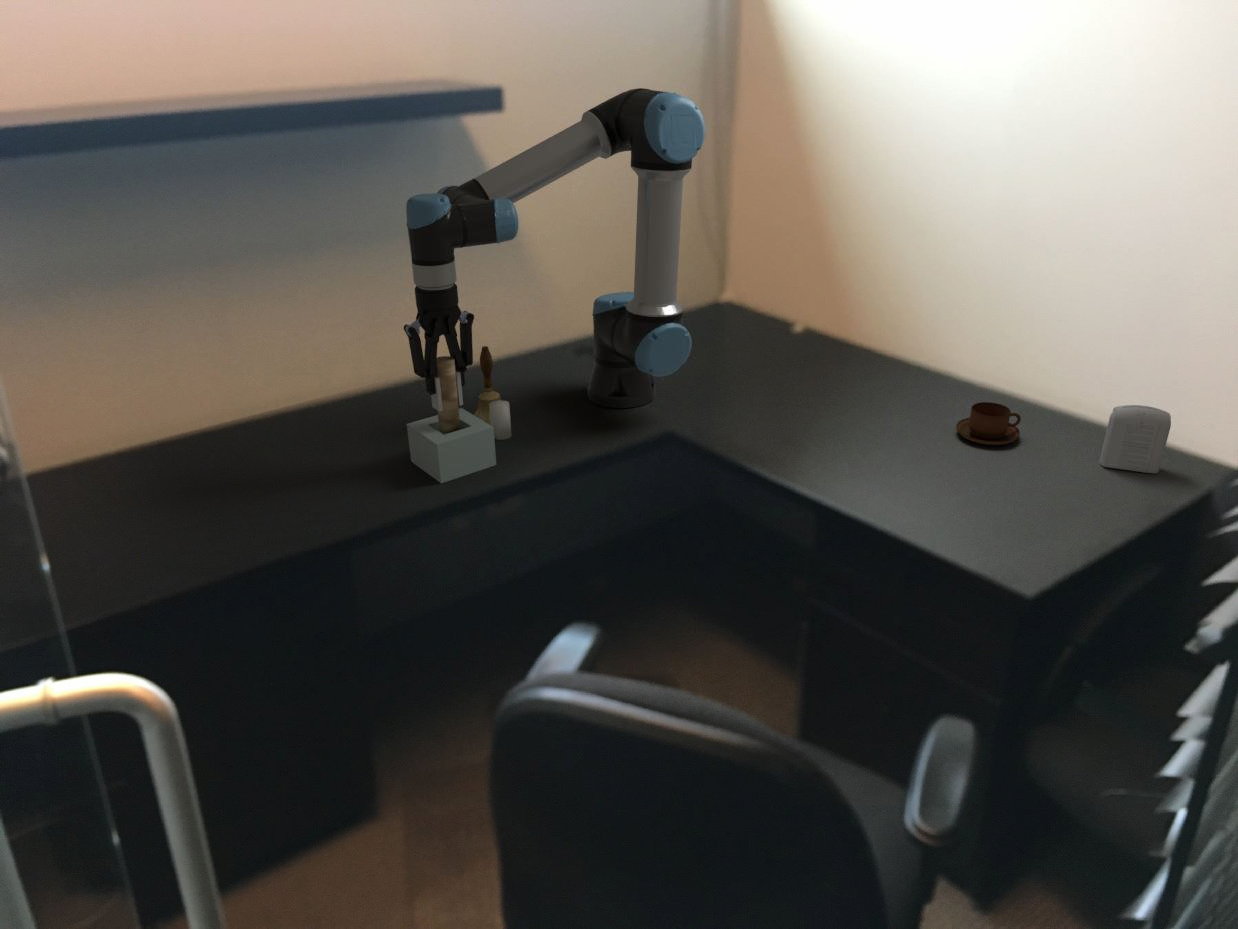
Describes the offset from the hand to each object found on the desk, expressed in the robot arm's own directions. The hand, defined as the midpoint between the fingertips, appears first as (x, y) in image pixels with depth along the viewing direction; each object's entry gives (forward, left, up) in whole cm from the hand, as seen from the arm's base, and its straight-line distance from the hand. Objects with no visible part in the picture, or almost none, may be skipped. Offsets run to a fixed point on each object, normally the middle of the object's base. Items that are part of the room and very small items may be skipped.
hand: (447, 405), depth 188 cm
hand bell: (-17, -14, -12) cm, 25 cm away
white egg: (-14, -5, -12) cm, 19 cm away
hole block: (0, 0, -12) cm, 12 cm away
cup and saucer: (-89, +58, -12) cm, 107 cm away
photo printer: (-97, +83, -12) cm, 128 cm away
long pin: (0, 0, -5) cm, 5 cm away
